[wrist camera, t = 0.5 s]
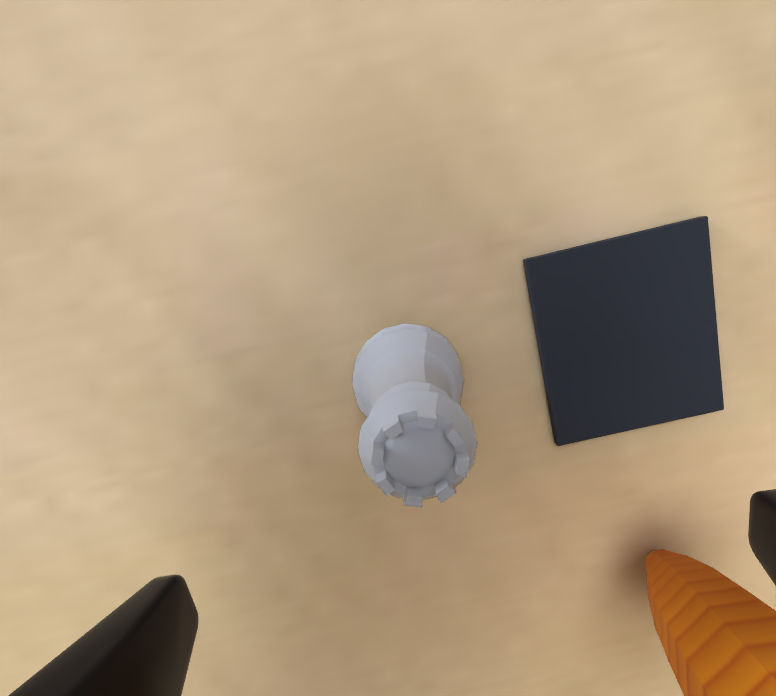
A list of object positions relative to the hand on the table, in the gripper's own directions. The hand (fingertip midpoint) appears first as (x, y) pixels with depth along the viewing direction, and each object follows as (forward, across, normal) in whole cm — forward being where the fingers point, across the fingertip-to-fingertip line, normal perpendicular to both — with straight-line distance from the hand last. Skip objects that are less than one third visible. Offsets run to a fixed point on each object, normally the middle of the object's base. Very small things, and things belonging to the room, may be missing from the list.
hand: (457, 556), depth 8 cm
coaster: (+13, -8, +2) cm, 15 cm away
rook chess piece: (+13, +1, +2) cm, 13 cm away
